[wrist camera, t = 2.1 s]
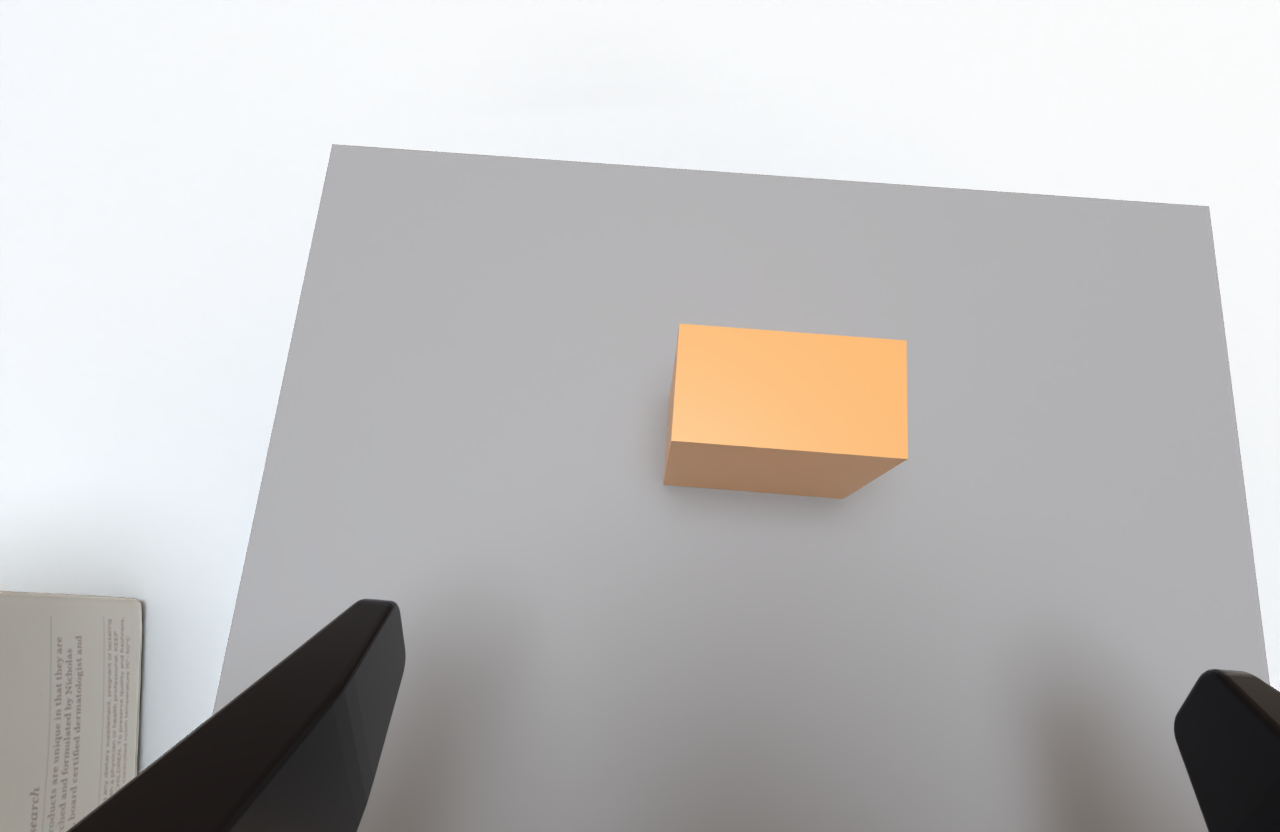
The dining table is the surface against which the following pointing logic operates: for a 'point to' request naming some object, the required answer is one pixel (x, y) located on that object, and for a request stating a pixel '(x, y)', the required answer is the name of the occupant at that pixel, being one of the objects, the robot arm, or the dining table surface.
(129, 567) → the dining table surface
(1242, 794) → the robot arm
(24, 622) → the supplement box
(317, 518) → the lid
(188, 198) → the dining table surface
